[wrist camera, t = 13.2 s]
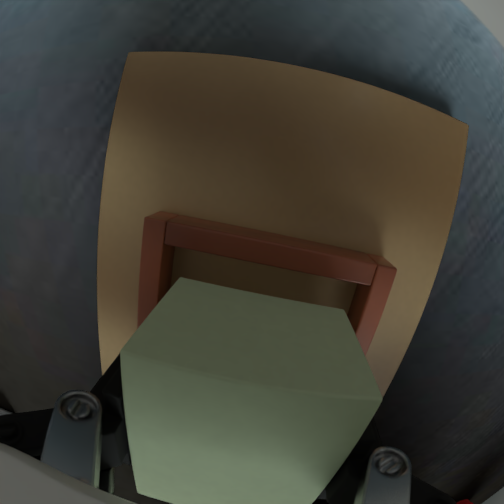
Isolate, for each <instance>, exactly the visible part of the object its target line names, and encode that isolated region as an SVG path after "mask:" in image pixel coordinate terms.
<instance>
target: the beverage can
mask: <svg viewBox="0 0 504 504" xmlns="http://www.w3.org/2000/svg"><path fill="white" fill-rule="evenodd" d="M456 503H457V504H473V503H472V502H470V501H469V500H468V499H463V500H460V501H458V502H456Z"/></svg>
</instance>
